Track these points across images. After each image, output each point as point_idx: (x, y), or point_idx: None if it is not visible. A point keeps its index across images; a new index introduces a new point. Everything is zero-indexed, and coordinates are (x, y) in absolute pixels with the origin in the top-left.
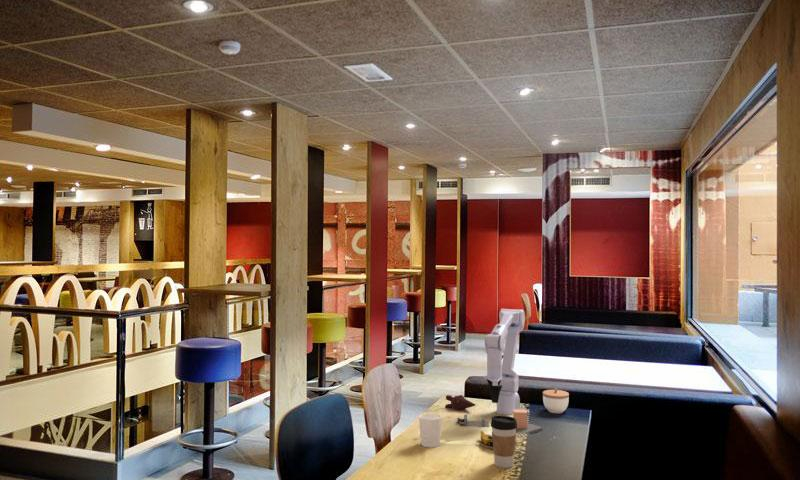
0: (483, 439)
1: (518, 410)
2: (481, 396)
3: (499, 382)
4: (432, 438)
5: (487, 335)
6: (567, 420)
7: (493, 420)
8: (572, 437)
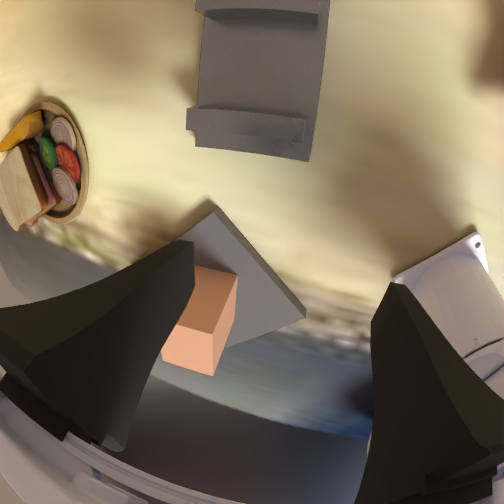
0: (15, 126)
1: (191, 346)
2: None
3: (365, 480)
4: None
5: None
6: (314, 412)
7: None
8: (166, 372)
